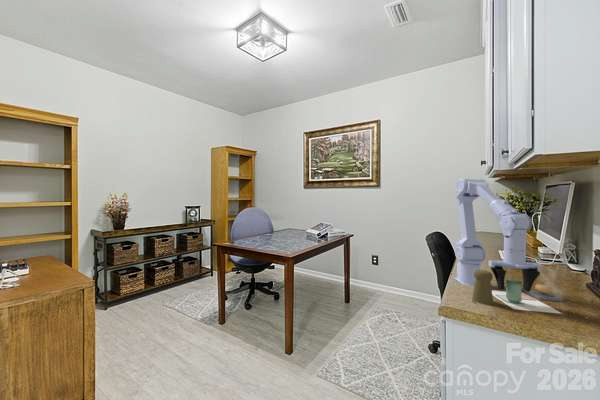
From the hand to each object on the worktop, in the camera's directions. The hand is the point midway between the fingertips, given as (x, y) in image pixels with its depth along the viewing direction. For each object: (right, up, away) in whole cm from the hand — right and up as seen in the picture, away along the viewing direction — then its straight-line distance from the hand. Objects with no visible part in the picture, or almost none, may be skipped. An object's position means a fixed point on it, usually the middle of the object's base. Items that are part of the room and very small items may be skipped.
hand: (513, 289), depth 86 cm
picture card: (+3, -5, +2) cm, 6 cm away
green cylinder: (0, -4, 0) cm, 4 cm away
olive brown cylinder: (-10, -5, 0) cm, 11 cm away
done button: (+15, -2, +5) cm, 16 cm away
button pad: (+15, -5, +5) cm, 17 cm away
